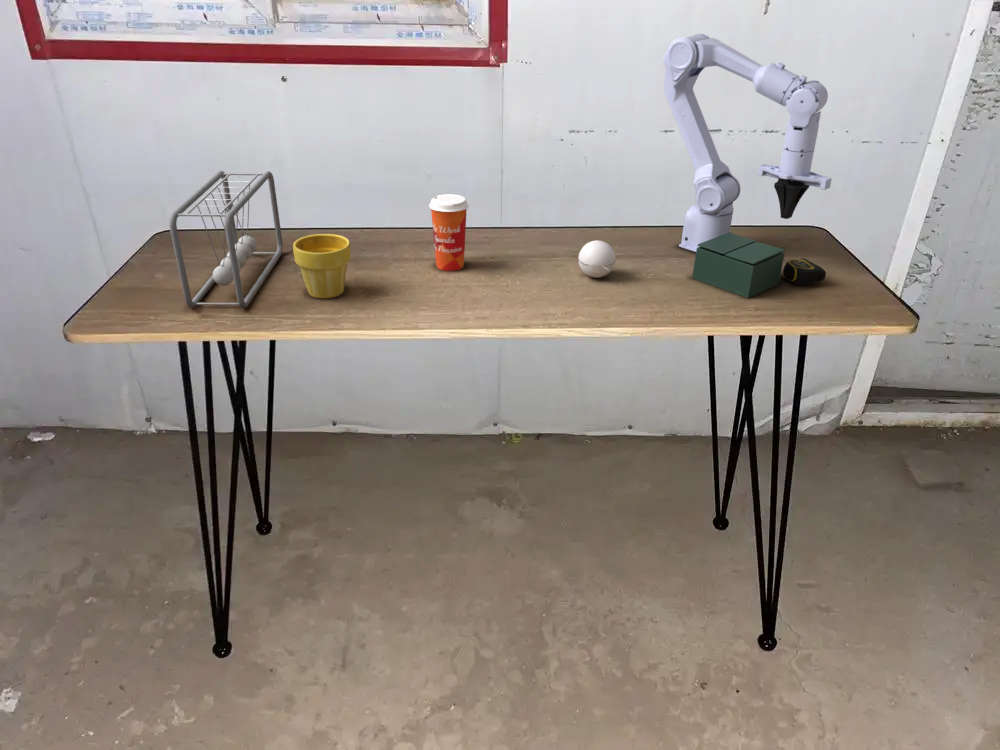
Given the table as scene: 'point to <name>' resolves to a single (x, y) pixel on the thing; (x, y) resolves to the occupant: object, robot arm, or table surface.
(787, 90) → the robot arm
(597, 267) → the seamed sphere
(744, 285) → the carton
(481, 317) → the table surface
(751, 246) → the flap
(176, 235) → the newton's cradle
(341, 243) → the flower pot
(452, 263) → the paper cup
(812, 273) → the tape measure
